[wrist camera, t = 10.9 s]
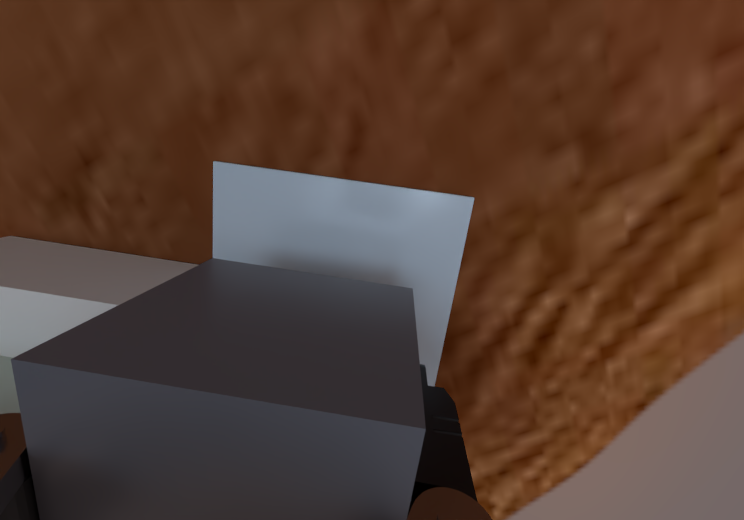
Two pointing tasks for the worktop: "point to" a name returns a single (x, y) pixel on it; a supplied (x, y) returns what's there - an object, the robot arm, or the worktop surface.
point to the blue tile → (347, 236)
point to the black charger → (229, 402)
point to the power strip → (66, 287)
